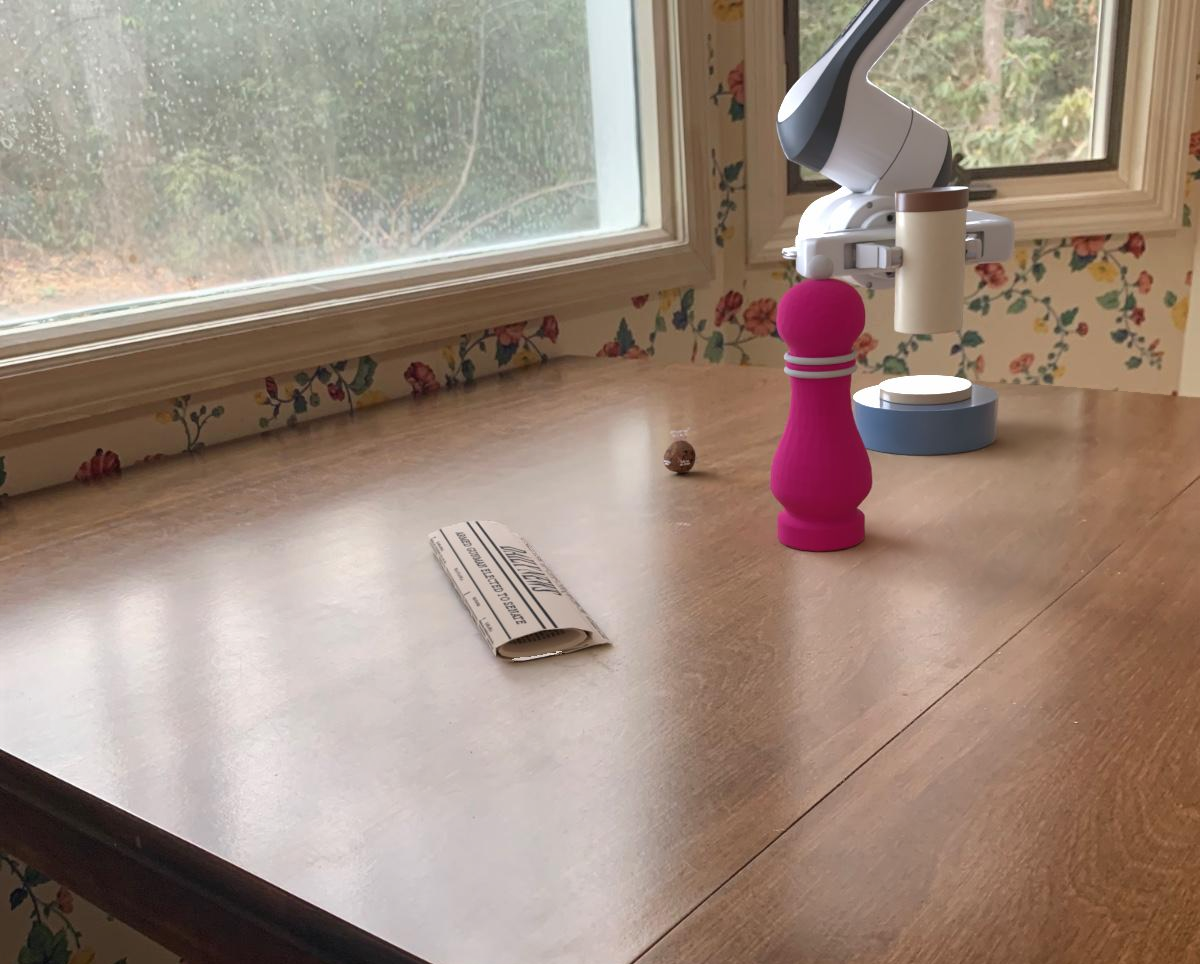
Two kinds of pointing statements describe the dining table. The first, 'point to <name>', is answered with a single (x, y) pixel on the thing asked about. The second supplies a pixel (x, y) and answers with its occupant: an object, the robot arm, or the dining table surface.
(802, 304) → the pepper mill
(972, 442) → the two-tier round pedestal
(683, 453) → the chocolate
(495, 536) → the newspaper
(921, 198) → the canister
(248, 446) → the dining table surface
